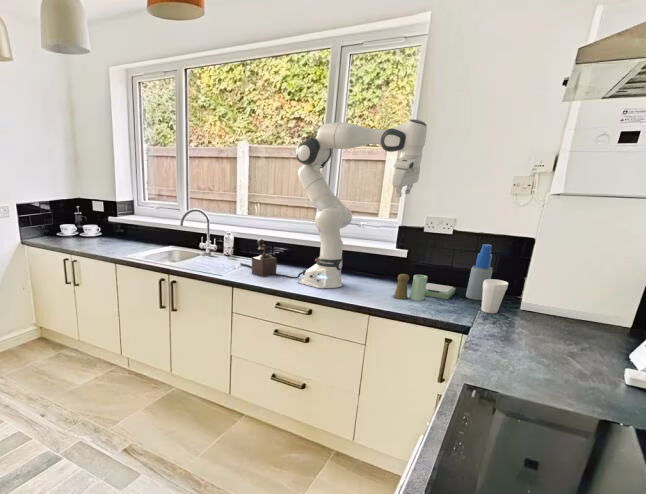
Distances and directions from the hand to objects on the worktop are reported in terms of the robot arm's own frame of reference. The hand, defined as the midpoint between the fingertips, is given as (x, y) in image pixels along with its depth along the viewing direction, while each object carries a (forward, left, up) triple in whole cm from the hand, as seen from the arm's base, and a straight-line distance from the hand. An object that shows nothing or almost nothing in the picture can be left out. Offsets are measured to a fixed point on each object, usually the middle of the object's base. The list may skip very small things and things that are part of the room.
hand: (402, 195), depth 203 cm
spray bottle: (+35, +22, -46) cm, 62 cm away
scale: (+18, +17, -46) cm, 52 cm away
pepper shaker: (+6, 0, -46) cm, 46 cm away
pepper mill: (-74, 0, -46) cm, 87 cm away
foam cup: (+44, +3, -46) cm, 64 cm away
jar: (+13, +2, -46) cm, 48 cm away
